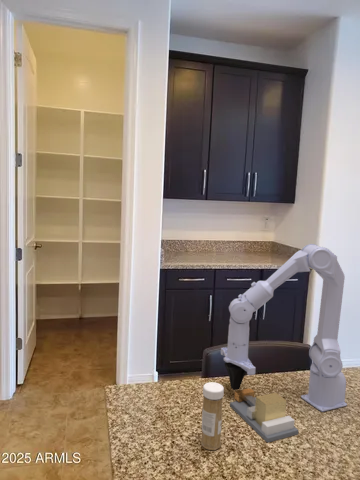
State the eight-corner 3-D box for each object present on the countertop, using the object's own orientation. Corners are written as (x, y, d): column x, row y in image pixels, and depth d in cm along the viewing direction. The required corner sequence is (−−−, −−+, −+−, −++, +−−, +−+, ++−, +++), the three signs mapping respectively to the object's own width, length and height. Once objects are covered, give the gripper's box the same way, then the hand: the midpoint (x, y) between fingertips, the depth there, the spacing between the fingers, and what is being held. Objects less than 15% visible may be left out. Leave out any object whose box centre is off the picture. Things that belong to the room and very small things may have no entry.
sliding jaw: (254, 394, 100) (254, 387, 99) (277, 413, 90) (278, 405, 90) (229, 399, 96) (230, 392, 96) (251, 419, 87) (251, 411, 87)
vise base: (257, 400, 99) (258, 389, 99) (298, 434, 84) (299, 422, 84) (229, 406, 95) (230, 395, 95) (267, 442, 81) (268, 430, 81)
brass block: (274, 415, 90) (275, 392, 90) (284, 424, 86) (286, 400, 86) (254, 420, 88) (255, 396, 87) (264, 429, 84) (266, 405, 83)
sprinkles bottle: (224, 446, 79) (228, 388, 78) (208, 453, 76) (212, 393, 75) (211, 435, 82) (215, 379, 81) (196, 441, 80) (199, 384, 79)
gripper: (212, 334, 105) (210, 379, 106) (240, 353, 92) (237, 404, 93) (233, 332, 108) (230, 375, 109) (263, 350, 95) (259, 399, 96)
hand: (235, 388), depth 101 cm, fingers closed
